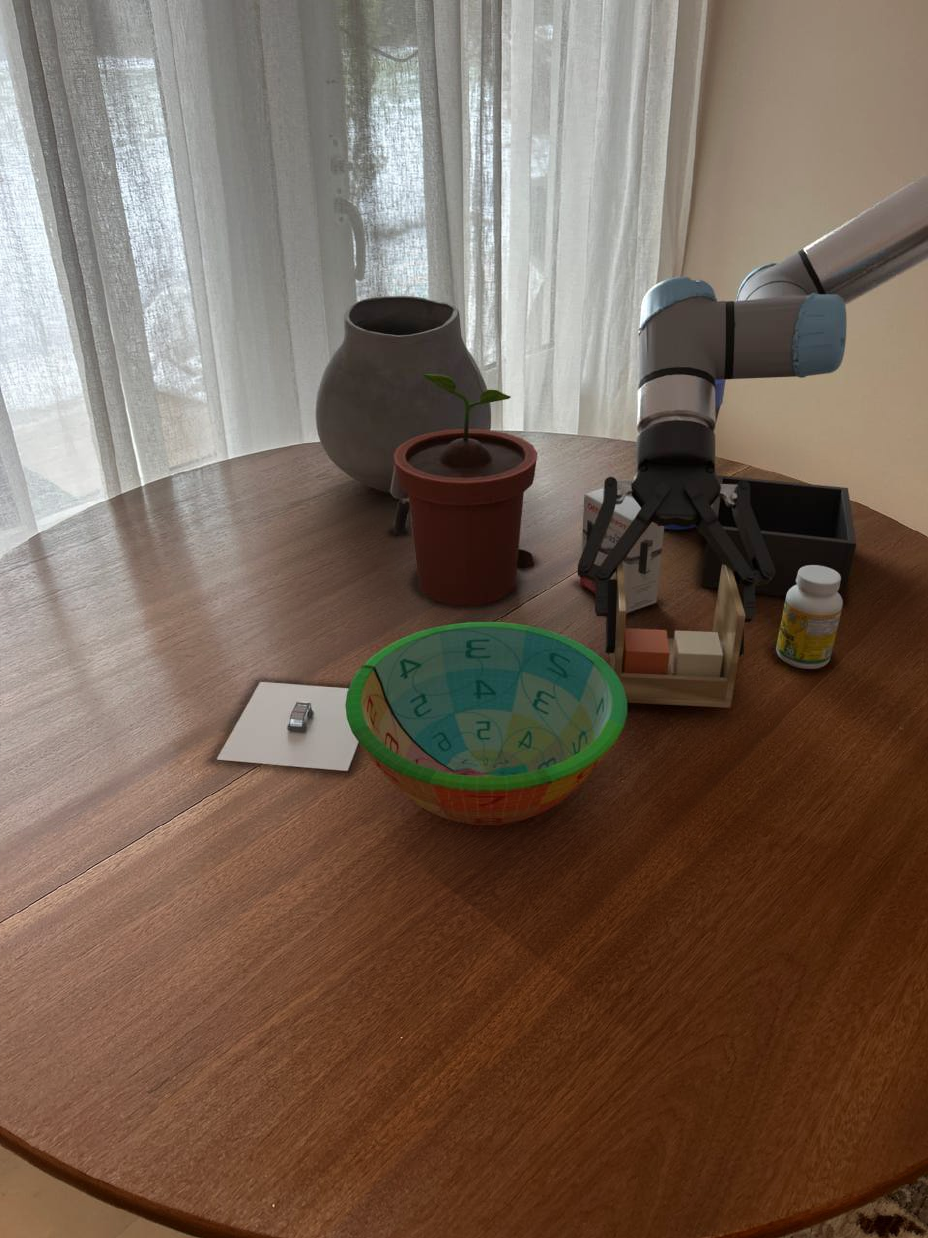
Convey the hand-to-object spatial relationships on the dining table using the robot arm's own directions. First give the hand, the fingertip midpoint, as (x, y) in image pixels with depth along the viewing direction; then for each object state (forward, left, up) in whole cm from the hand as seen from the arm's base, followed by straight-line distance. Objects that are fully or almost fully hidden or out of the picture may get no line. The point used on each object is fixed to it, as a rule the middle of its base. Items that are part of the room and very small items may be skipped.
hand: (673, 653), depth 86 cm
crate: (+1, -3, -4) cm, 5 cm away
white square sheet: (+33, +12, -6) cm, 35 cm away
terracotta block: (+3, -1, -4) cm, 5 cm away
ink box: (+8, -20, -6) cm, 22 cm away
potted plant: (+27, -21, -6) cm, 34 cm away
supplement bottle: (-13, -12, -6) cm, 18 cm away
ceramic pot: (+42, -44, -6) cm, 61 cm away
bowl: (+14, +16, -6) cm, 22 cm away
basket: (-9, -32, -6) cm, 34 cm away
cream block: (-2, -2, -4) cm, 5 cm away
